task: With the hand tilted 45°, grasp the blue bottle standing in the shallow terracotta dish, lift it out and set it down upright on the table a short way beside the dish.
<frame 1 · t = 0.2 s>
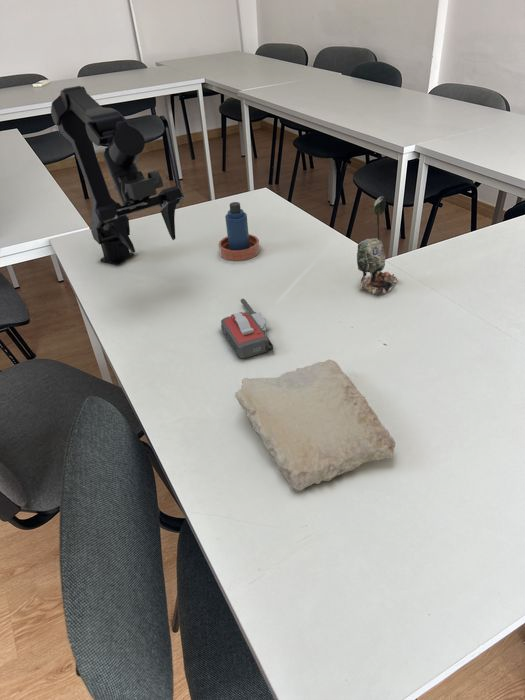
hand: (154, 245, 110), 15 cm above the table, tool tilted 35°, fingers open, 9 cm apart
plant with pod: (375, 287, 120), on the table
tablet: (306, 427, 86), on the table
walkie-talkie: (244, 332, 109), on the table
dish: (240, 253, 138), on the table
blue bottle: (239, 251, 138), resting on dish
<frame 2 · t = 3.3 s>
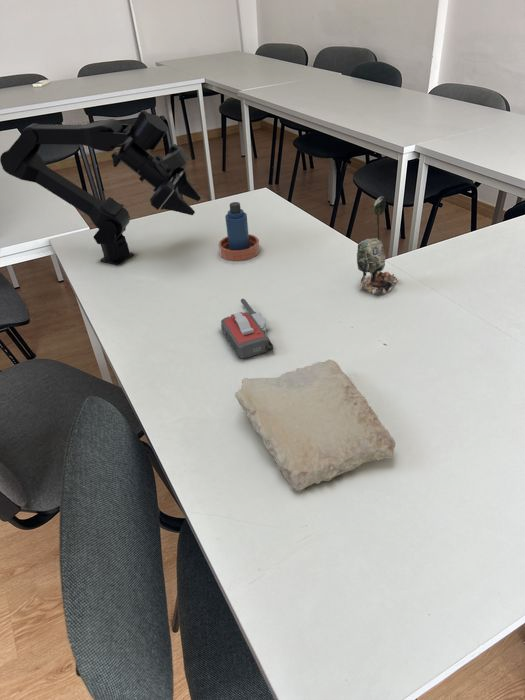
hand: (196, 206, 130), 14 cm above the table, tool tilted 45°, fingers open, 9 cm apart
nothing on the table moved.
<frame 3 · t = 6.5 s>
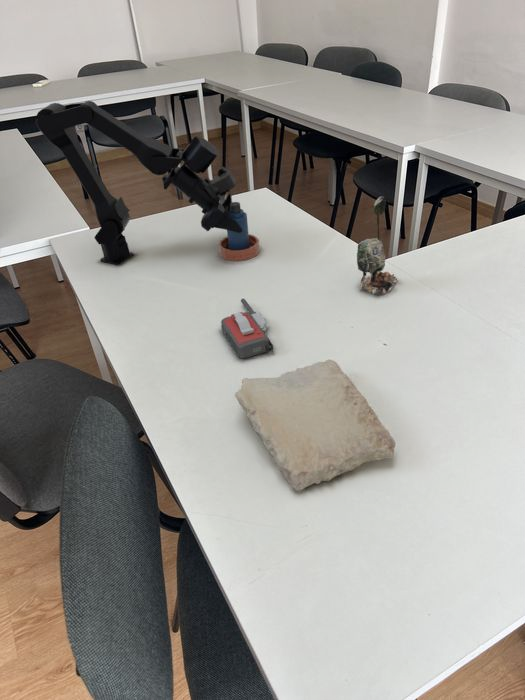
hand: (242, 226, 134), 7 cm above the table, tool tilted 45°, fingers closed on blue bottle, 5 cm apart
blue bottle: (239, 251, 138), point 1 cm above the table, touching dish, gripper
everything else where it was.
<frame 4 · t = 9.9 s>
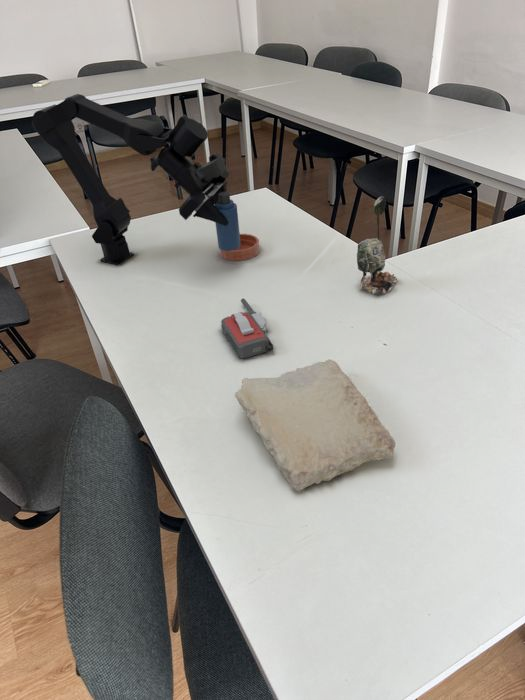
hand: (231, 219, 123), 13 cm above the table, tool tilted 45°, fingers closed on blue bottle, 5 cm apart
blue bottle: (229, 245, 128), point 6 cm above the table, touching gripper
everything else where it was.
when the fingers open (7 cm above the table, at t = 13.7 s): blue bottle stays where it is, on the table.
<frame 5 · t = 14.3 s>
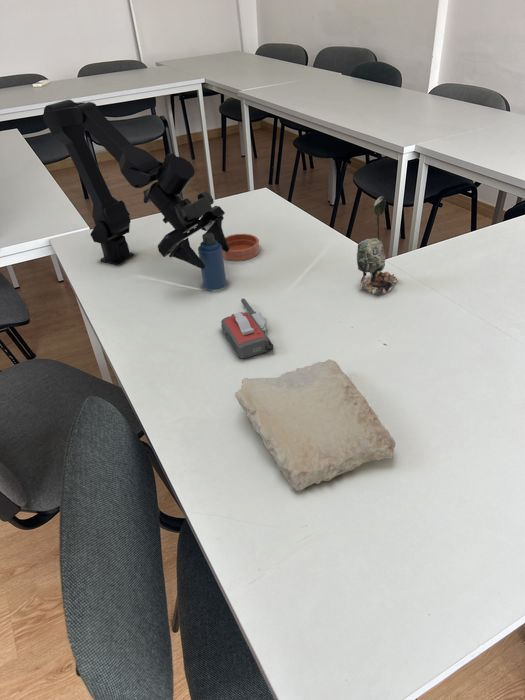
hand: (216, 259, 120), 7 cm above the table, tool tilted 45°, fingers open, 9 cm apart
blue bottle: (215, 285, 125), on the table
everything else where it was.
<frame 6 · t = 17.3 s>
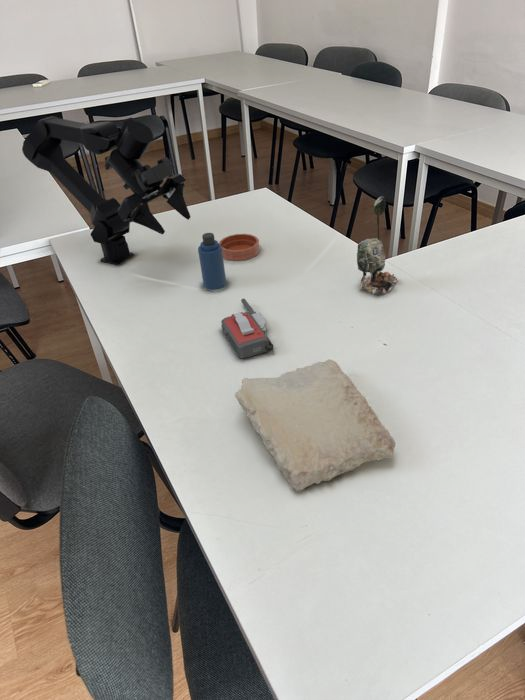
hand: (176, 225, 121), 14 cm above the table, tool tilted 45°, fingers open, 9 cm apart
nothing on the table moved.
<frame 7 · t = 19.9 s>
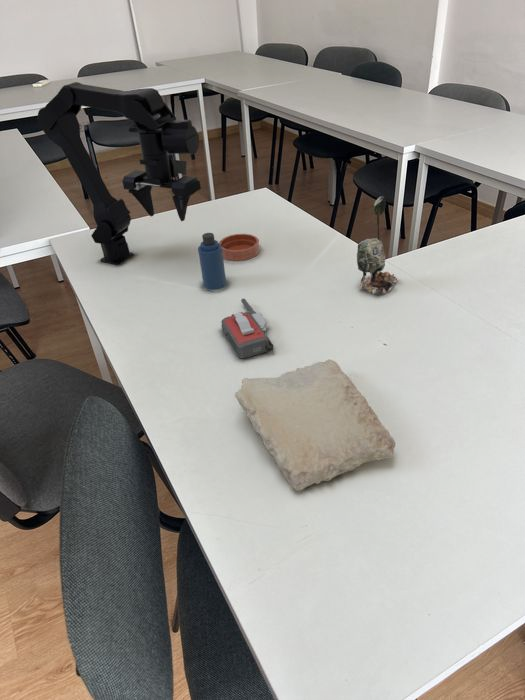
hand: (167, 218, 127), 13 cm above the table, tool pointing down, fingers open, 9 cm apart
nothing on the table moved.
at the end: blue bottle 0.1 cm from the target spot, on the table; blue bottle tilted 0°; the gripper is holding nothing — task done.
